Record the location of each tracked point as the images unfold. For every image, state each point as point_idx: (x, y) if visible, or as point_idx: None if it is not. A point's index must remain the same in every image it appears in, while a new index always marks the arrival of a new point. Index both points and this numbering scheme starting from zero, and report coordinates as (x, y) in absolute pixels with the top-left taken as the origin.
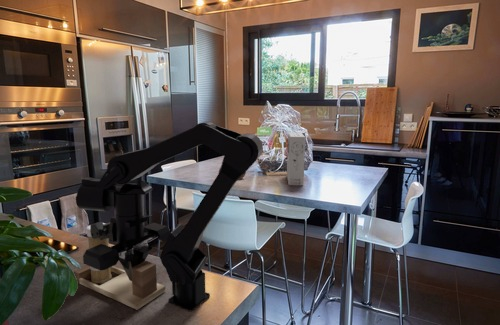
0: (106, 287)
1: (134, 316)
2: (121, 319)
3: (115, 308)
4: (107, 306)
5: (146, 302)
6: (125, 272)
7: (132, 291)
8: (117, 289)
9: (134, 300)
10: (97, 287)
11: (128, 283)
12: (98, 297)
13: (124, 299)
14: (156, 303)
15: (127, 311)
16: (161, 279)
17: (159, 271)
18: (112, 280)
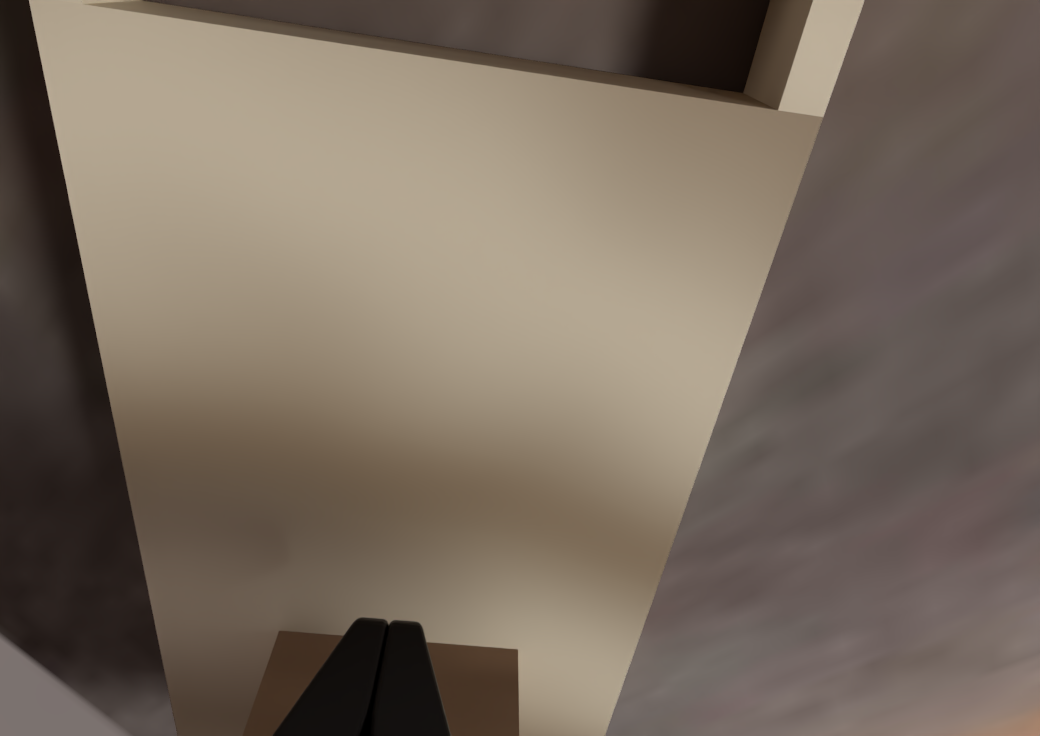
0: (150, 207)
1: (141, 696)
2: (31, 646)
3: (83, 507)
4: (33, 411)
5: None
6: (770, 123)
7: (325, 594)
8: (236, 412)
9: (211, 698)
10: (37, 4)
11: (451, 440)
12: (44, 132)
13: (157, 607)
14: None
15: (143, 621)
16: (810, 565)
17: (1022, 444)
18: (391, 111)
